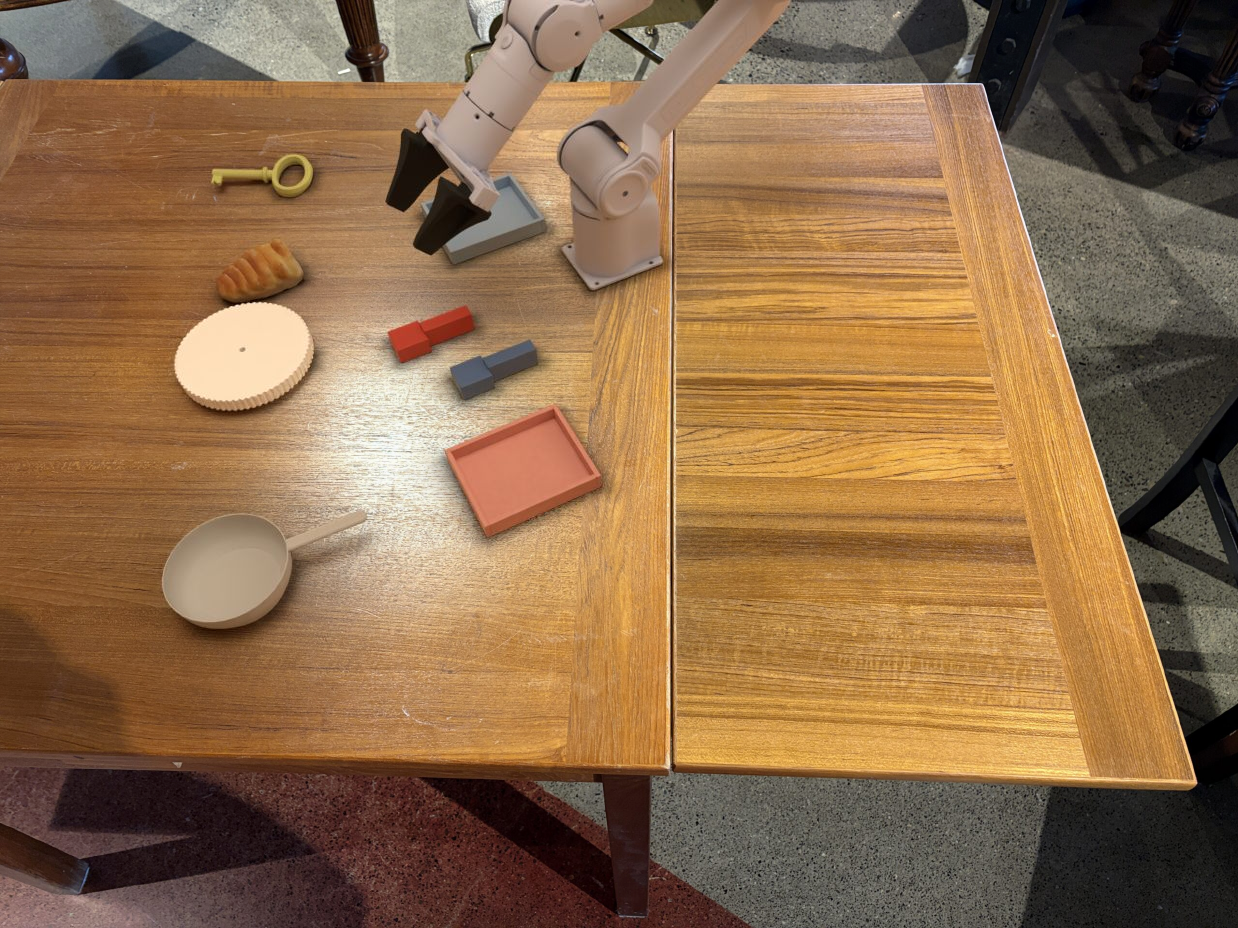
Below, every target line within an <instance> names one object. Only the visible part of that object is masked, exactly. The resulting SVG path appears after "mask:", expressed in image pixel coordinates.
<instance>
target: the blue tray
mask: <svg viewBox="0 0 1238 928" xmlns="http://www.w3.org/2000/svg"><path fill="white" fill-rule="evenodd" d="M492 181H493V184H494V186H495V188H496V190H497V191H498V193H499V194H500V197H499V198H498V199H497V201H496V202H495V204H494V205H493V206H492V208H491V209H490V211H491V213H492V215H491V216H490V218H489V219H488V220H486V221H483V222H480V223H478V224H476V225H474V226H472V227H470V228H468V229H466V230H464V231H462V232H461V233H459V234H458V235H456V236H455V237H454V238H452V239H451V240H450V241H449V242H447V243H446V244H445V245H444V246H442V247H441V248H442V249H443V250H444V251H445V253H446V255H447V256H448V258H449V259H450V262H451V263H452V265H456V264H459V263H462V262H464V261H468V260H470V259H474V258H477V257H479V256H481V255H485V254H487V253H489V252H492V251H496V250H498V249H501V248H504V247H506V246H509V245H512V244H515V243H518V242H520V241H523V240H525V239H529V238H532V237H534V236H537V235H540V234H543V233H545V232H547V225H546V218H545V217H544V216H543V215H542V213H541V211H540V210H539V209H538V207H537V206H536V205H535V203H534V202H533V200H532V199H531V198H530V196H529V195H528V194H527V193H526V191H525V190H524V189H523V188H524V187H522V186H521V184H520V182H519V181H518V180H517V178H516V177H515V176H514V174H513V173H512V172H508V173H506V174H503V175H500V176H497V177H494V178H492ZM433 201H434V198H432V199H429V200H426V201H423V202H420V204H419V205H420V207H421V211H422V215H423V217H424V220H425V219H426V217H427V215H428V213H429V211H430V208H431V206H432V203H433Z"/></svg>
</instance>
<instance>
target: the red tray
mask: <svg viewBox="0 0 1238 928" xmlns="http://www.w3.org/2000/svg"><path fill="white" fill-rule="evenodd" d="M444 453H445V456H446V460H447V462H448V464H449V466H450V469H451V470H452V473H453V474H454V476H455V478H456V480H457V482H458V484H459V486H460V488H461V490H462V491H463V494H464V496H465V498H466V500H467V501H468V503H469V505H470V507H471V509H472V511H473V513H474V516H475V517H476V519H477V522H478V523H479V525H480V527H481V529H482V530H483V532H484V534H485V537H486V538H487V539H488V538H491V537H492V536H494V535H497V534H499V533H502V532H503V531H506V530H508V529H511V528H512V527H514V526H517V525H519V524H522V523H523V522H525V521H528V520H530V519H532V518H534V517H536V516H539V515H542V514H543V513H546V512H548V511H550V510H553V509H555V508H557V507H559V506H561V505H564V504H566V503H568V502H570V501H573V500H575V499H578V498H579V497H581V496H584V495H585V494H588V493H590V492H592V491H595V490H597V489H599V488H601V487H603V486H602V475H601V473H600V471H599V470H598V468H597V467H596V465H595V464H594V461H593V460H592V459H591V457H590V456H589V454H588V452H587V451H586V449H585V448H584V446H583V444H582V443H581V441H580V439H579V438H578V437H577V435H576V433H575V432H574V430H573V428H572V427H571V425H570V424H569V422H568V421H567V419H566V418H565V416H564V415H563V413H562V411H561V410H560V408H559V406H558V404H557V403H553V404H551V405H549V406H546V407H544V408H542V409H539V410H537V411H534V412H532V413H530V414H527V415H525V416H523V417H520V418H517V419H514V420H513V421H510V422H508V423H506V424H503V425H501V426H499V427H496V428H493V429H492V430H489V431H487V432H484V433H481V434H480V435H476V436H474V437H471V438H470V439H467V440H464V441H462V442H459V443H458V444H455V445H453V446H451V447H447V448H445V449H444Z"/></svg>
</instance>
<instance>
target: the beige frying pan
mask: <svg viewBox="0 0 1238 928" xmlns="http://www.w3.org/2000/svg"><path fill="white" fill-rule="evenodd" d="M367 519H368V514H367V512H366V510H364V509H359V510H356V511H354V512H351V513H348V514H347V515H344V516H341V517H339V518H336V519H334V520H331V521H329V522H326V523H324V524H321V525H319V526H316V527H314V528H311V529H309V530H306V531H303V532H301V533H298V534H296V535H294V536H291V537H288V538H286V537H285V534H283V532H282V530H281V529H280V528H279V527H278V526H277V525H276V524H275V523H274V522H272V521H271V520H269V519H267V518H266V517H263V516H260V515H257V514H251V513H239V512H238V513H229V514H225V515H221V516H217V517H214V518H212V519H210V520H207V521H205V522H202V523H201V524H200V525H198V526H196V527H195V528H193V529H192V530H191V531H189V532H188V533H187V534H185V536H183V538H181V539H180V541H179V542H178V543H176V545H175V546H174V548H173V549H172V550H171V552H170V554H169V556H168V558H167V559H166V562H165V565H164V567H163V572H162V575H161V576H162V577H161V588H162V592H163V596H164V598H165V600H166V602H167V604H168V605H169V606H170V608H172V609H173V611H174V612H175V613H177V614H178V615H179V616H180V617H181V618H184V619H185V620H186V621H188V622H190V623H191V624H194V625H195V626H198V627H200V628H207V629H210V630H211V629H213V630H215V629H216V630H217V629H219V630H220V629H221V630H225V629H233V628H237V627H243V626H247V625H249V624H252V623H254V622H256V621H258V620H260V619H261V618H263V617H264V616H266V615H267V614H268V613H269V612H270V611H272V610H273V609H274V607H275V606H276V605H277V604H278V603H279V601H280V600H281V599H282V597H283V595H284V593H285V591H286V590H287V587H288V585H289V582H290V579H291V575H292V571H293V557H292V553H291V552H293V551H295V550H298V549H300V548H303V547H306V546H308V545H310V544H313V543H315V542H318V541H321V540H322V539H323V540H324V539H325V538H328V537H330V536H333V535H336V534H338V533H341V532H343V531H345V530H348V529H350V528H353V527H356V526H358V525H361V524H363V523H365V522H366V521H367Z"/></svg>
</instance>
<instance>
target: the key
mask: <svg viewBox="0 0 1238 928" xmlns="http://www.w3.org/2000/svg"><path fill="white" fill-rule="evenodd" d="M295 165H299V166H302V167H303V170H304V176H303V178H302V179H301V181H300V182H298V183H297V184H295V185H293V186H284V185H282V184H280V177H281V176H282V173H283V172H284V170H285V169H286V168H288V167H290V166H295ZM211 175H212V178H211V181H210V185H211V186H213V187H214V186H215V185H216V186H218V187H221V186H222V185H223V182H224V181H223V180H250V181H252V180H254V181H255V180H256V181H263V182H264V183H265V184H268V183H269V182H270V181H271V184H272V186H273V188H274V190H275V192H276V193H277V194H278V195H279V196H281V197H285V198H294V197H298V196H300V195H302V194H303V193H304V192H305V191H306V190H307V189H308V188H309V186H310V185H311V184H312V183H311V182H312V180H313V176H314V168H313V166H312V164H311V163H310V161H309V160H308V159H307V157H305V156H304V155H301V154H296V153H295V154H294V153H291V154H287V155H284V156H282V157H281V158H280V159H278V160H277V161H276V162H275V164H274V166H273V168H272V169H269V167H267V166H263V167H262V169H237V168H236V169H235V168H232V169H229V168H227V169H226V168H212V169H211Z"/></svg>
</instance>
